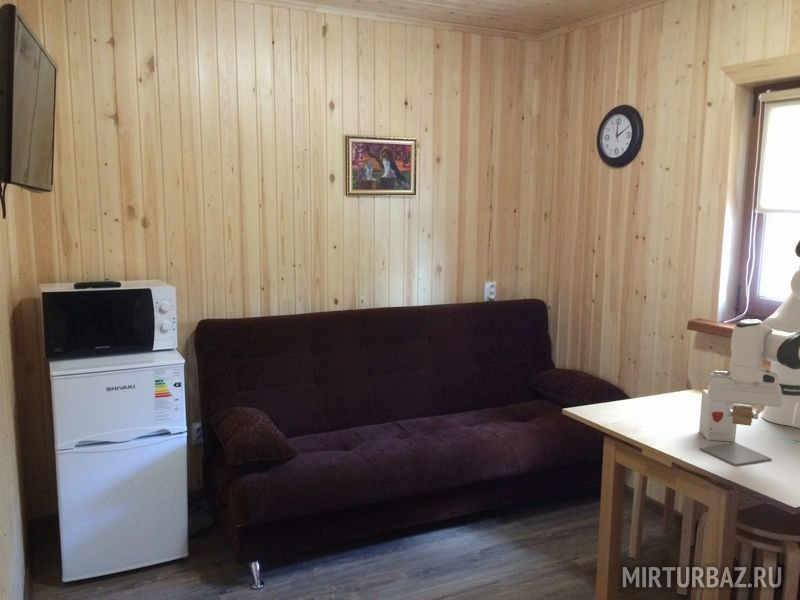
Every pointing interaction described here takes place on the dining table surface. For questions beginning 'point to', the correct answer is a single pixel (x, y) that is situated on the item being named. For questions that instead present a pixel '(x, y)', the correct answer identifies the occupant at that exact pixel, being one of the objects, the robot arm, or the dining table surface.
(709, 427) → the supplement box
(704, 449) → the coaster
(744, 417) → the letter cube
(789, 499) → the dining table surface
